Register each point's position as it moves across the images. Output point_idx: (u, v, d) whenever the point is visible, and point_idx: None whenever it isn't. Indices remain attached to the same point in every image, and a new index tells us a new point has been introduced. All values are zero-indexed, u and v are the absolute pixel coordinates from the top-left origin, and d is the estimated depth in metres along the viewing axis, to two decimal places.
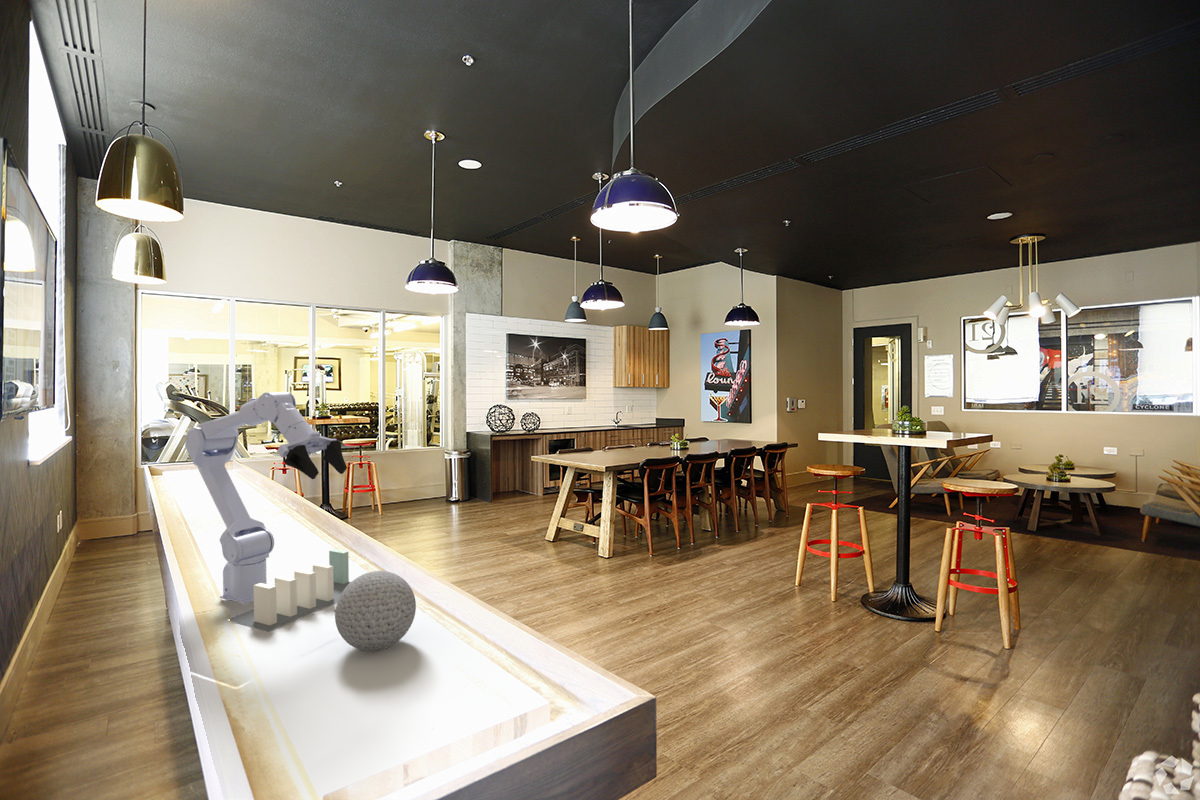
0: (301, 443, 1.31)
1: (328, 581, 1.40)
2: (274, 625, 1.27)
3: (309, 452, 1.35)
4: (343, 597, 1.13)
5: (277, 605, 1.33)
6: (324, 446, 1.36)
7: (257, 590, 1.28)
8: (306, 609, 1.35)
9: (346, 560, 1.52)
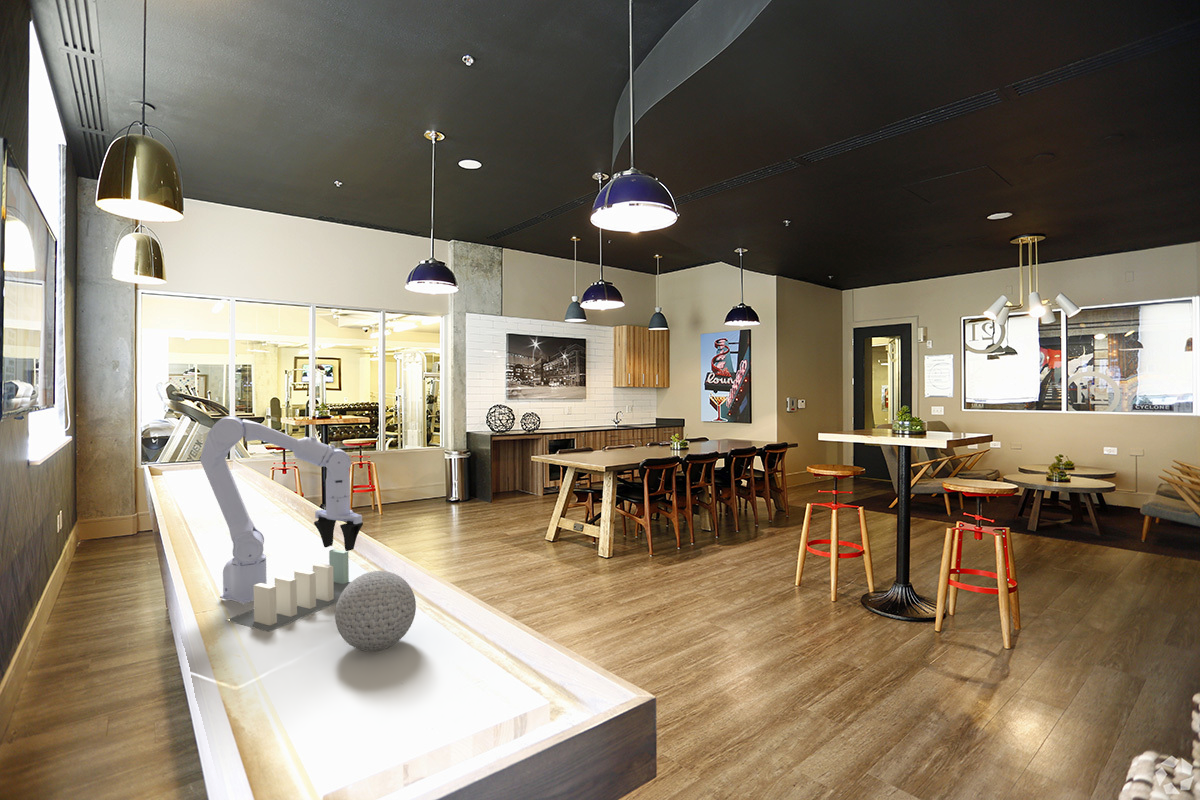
0: None
1: (328, 581, 1.40)
2: (274, 625, 1.27)
3: None
4: (343, 597, 1.13)
5: (277, 605, 1.33)
6: None
7: (257, 590, 1.28)
8: (306, 609, 1.35)
9: (346, 560, 1.52)
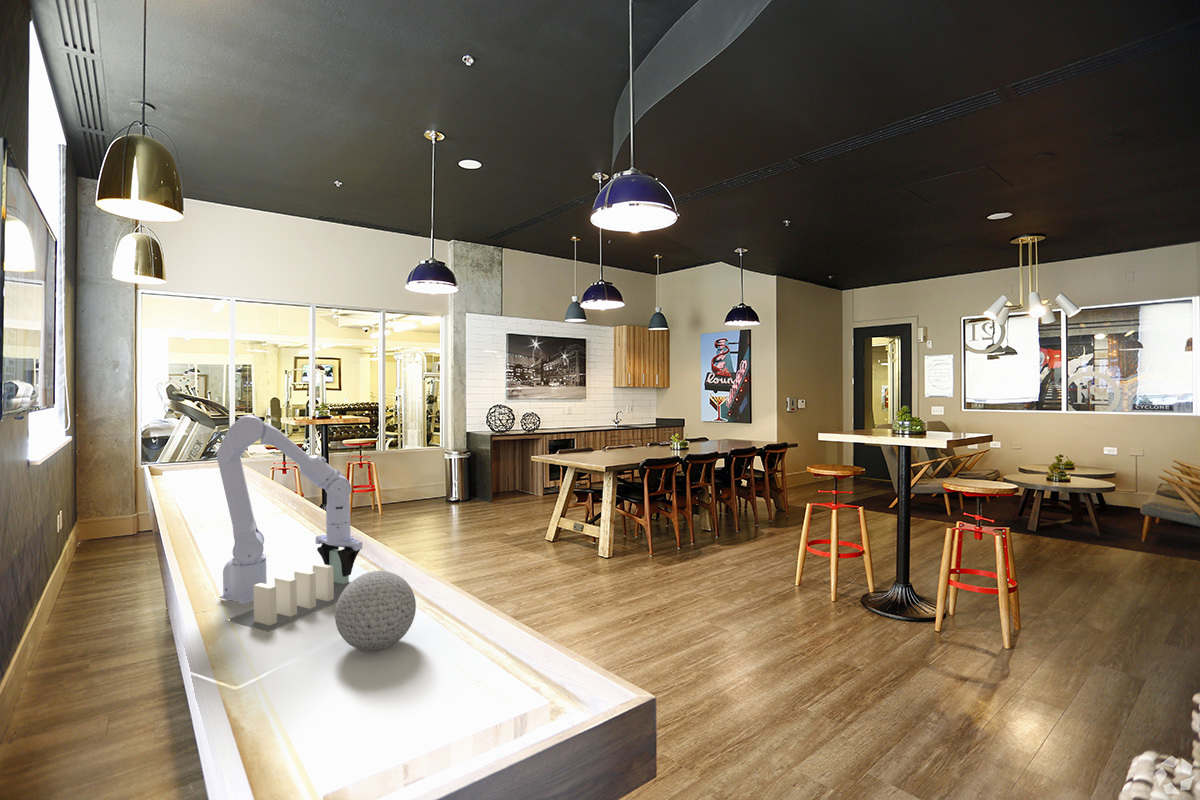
0: None
1: (328, 581, 1.40)
2: (274, 625, 1.27)
3: None
4: (343, 597, 1.13)
5: (277, 605, 1.33)
6: None
7: (257, 590, 1.28)
8: (306, 609, 1.35)
9: None
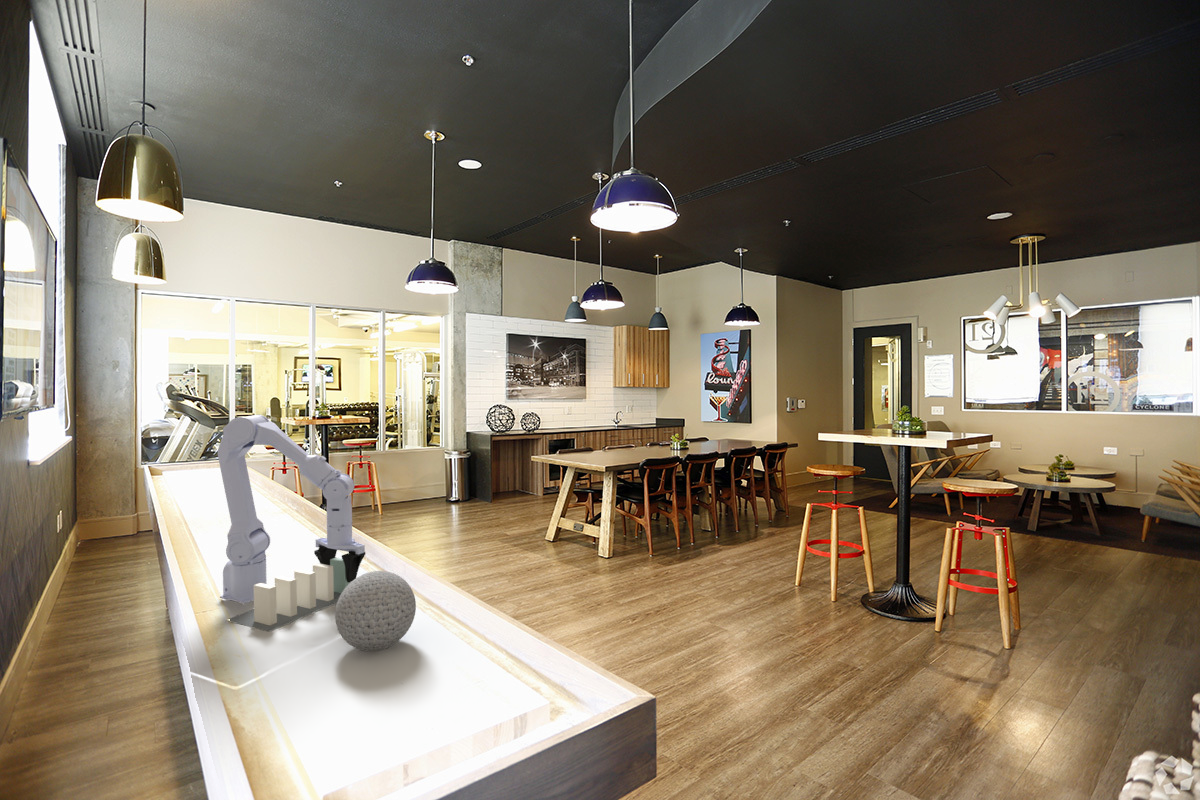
0: None
1: (328, 581, 1.40)
2: (274, 625, 1.27)
3: None
4: (343, 597, 1.13)
5: (277, 605, 1.33)
6: None
7: (257, 590, 1.28)
8: (306, 609, 1.35)
9: None
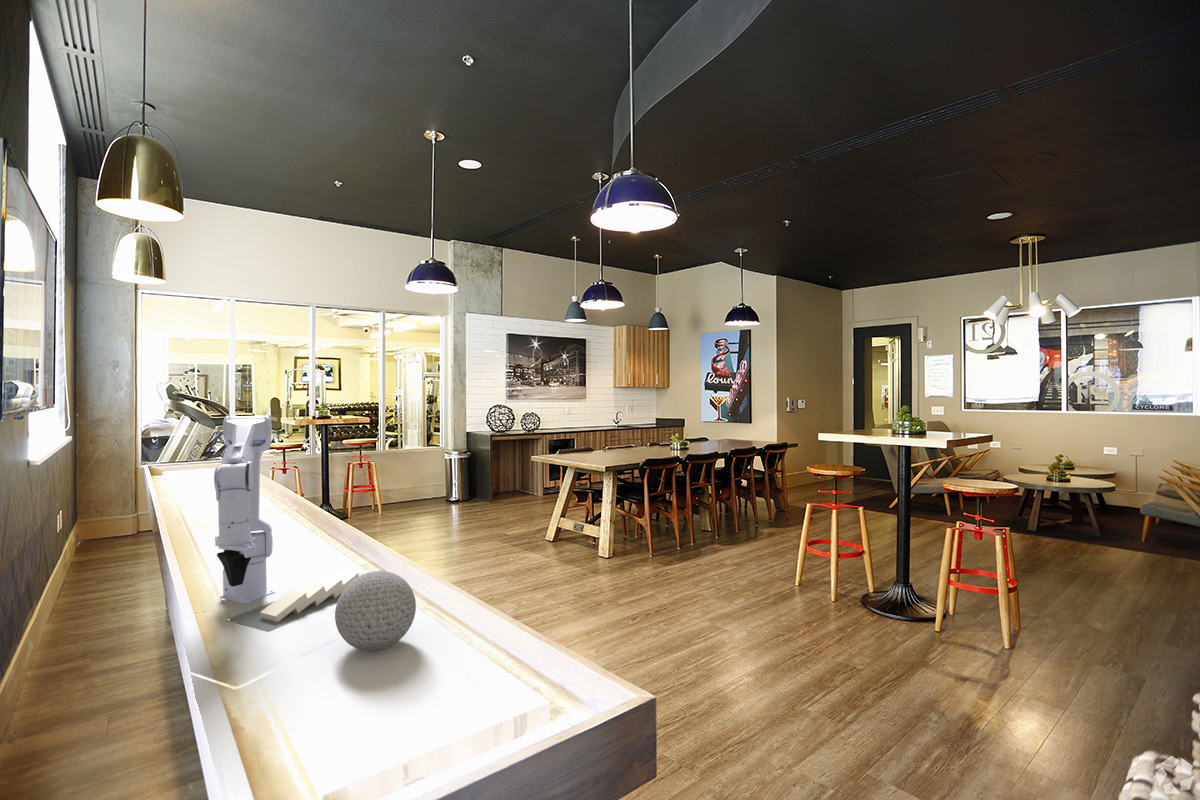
0: None
1: (348, 581, 1.46)
2: (274, 625, 1.27)
3: None
4: (343, 597, 1.13)
5: None
6: None
7: (290, 593, 1.35)
8: (306, 609, 1.35)
9: None
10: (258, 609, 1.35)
